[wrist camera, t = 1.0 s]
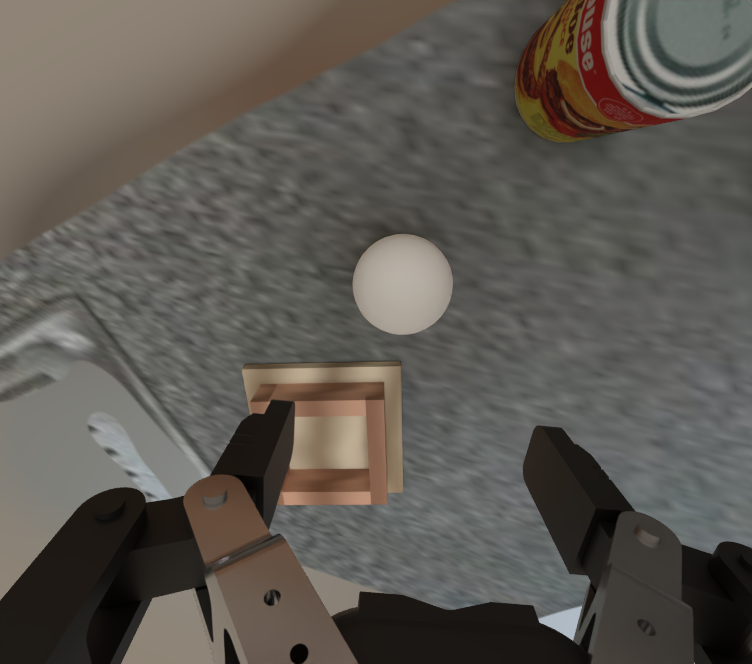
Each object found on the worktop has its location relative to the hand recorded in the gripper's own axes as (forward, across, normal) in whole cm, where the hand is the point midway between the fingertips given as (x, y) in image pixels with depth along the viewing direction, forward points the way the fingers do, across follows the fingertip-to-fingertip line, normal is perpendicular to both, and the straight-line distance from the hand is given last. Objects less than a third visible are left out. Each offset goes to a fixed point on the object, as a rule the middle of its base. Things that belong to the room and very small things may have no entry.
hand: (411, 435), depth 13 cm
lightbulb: (+21, 0, -2) cm, 21 cm away
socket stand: (+21, +4, +15) cm, 26 cm away
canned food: (+20, -10, -16) cm, 28 cm away
